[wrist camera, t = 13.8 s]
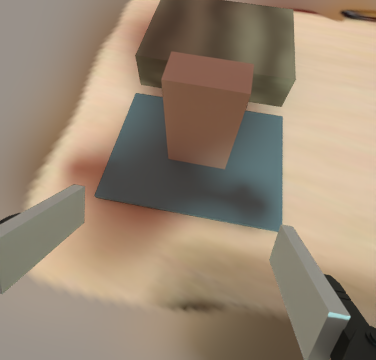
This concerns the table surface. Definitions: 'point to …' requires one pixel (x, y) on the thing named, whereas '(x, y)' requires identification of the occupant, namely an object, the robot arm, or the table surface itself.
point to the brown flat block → (223, 42)
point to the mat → (197, 170)
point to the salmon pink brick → (204, 107)
